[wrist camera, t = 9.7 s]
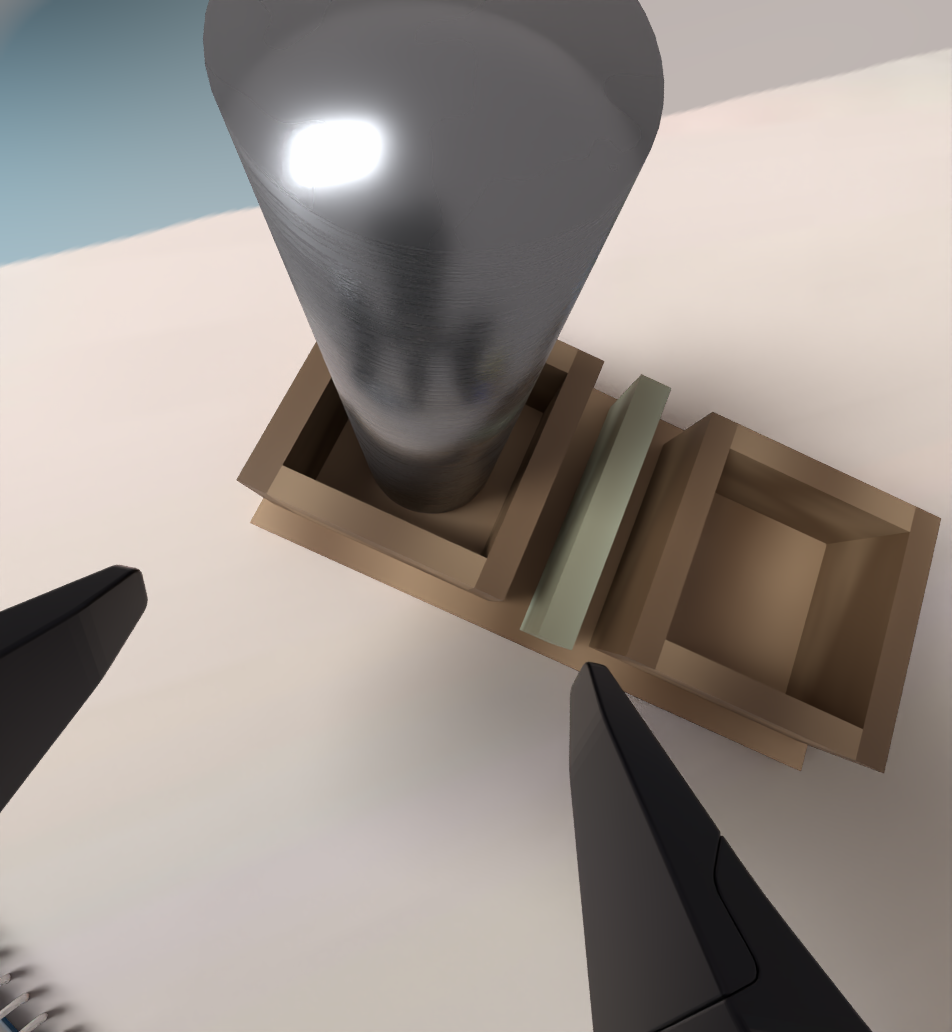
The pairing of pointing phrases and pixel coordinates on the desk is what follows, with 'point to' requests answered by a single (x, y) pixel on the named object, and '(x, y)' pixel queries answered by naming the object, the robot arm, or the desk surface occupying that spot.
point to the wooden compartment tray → (639, 555)
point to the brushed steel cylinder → (436, 198)
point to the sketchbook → (0, 1027)
